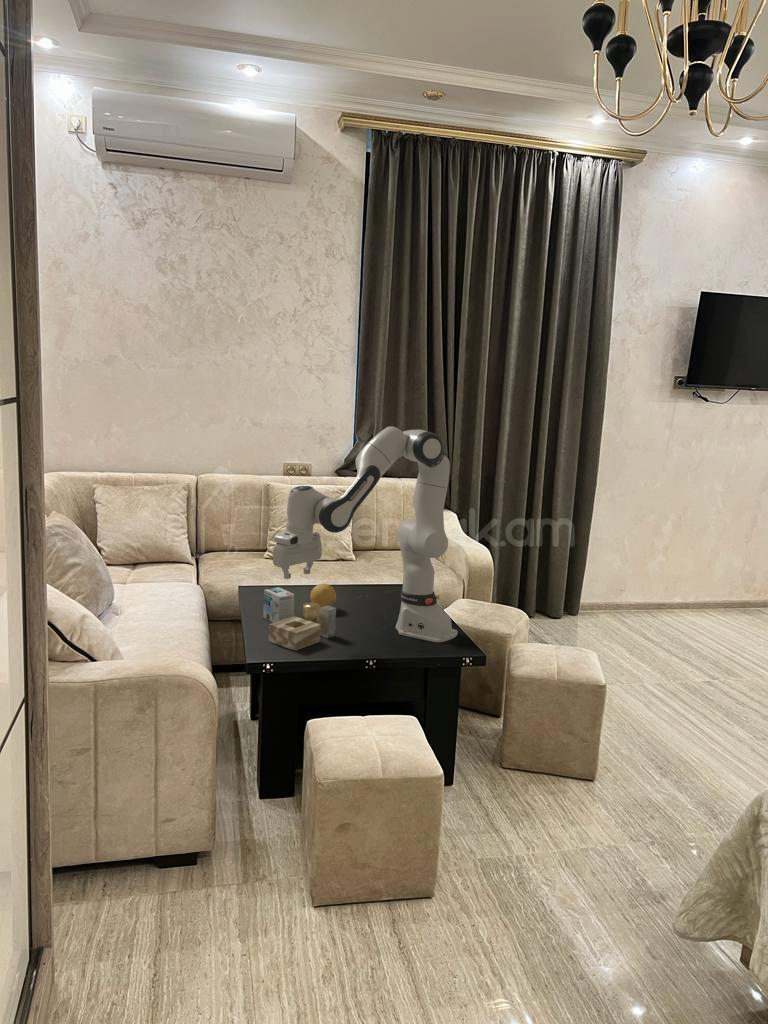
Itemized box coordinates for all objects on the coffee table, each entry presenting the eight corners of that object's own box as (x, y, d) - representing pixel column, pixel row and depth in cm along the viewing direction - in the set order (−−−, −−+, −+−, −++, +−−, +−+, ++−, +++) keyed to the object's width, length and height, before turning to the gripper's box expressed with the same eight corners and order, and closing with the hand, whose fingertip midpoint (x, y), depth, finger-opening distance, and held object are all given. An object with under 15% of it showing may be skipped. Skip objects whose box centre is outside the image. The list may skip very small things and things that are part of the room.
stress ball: (307, 610, 291) (307, 600, 282) (313, 587, 295) (314, 576, 287) (332, 616, 290) (333, 606, 282) (338, 593, 295) (339, 582, 287)
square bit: (334, 635, 262) (336, 607, 260) (327, 638, 258) (328, 610, 257) (326, 632, 264) (327, 605, 262) (318, 635, 261) (319, 607, 259)
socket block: (319, 641, 255) (320, 624, 254) (295, 650, 246) (295, 633, 245) (293, 632, 262) (294, 616, 261) (268, 641, 253) (269, 624, 252)
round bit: (322, 626, 270) (323, 605, 269) (311, 630, 265) (312, 608, 264) (310, 622, 273) (310, 601, 272) (298, 626, 269) (299, 605, 267)
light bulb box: (262, 617, 276) (263, 589, 274) (278, 614, 281) (279, 586, 279) (278, 626, 268) (279, 596, 266) (294, 622, 273) (295, 594, 271)
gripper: (313, 529, 258) (311, 569, 261) (270, 537, 242) (268, 579, 244) (327, 533, 255) (324, 572, 257) (284, 541, 238) (282, 583, 241)
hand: (297, 576), depth 251 cm, fingers open, 8 cm apart
